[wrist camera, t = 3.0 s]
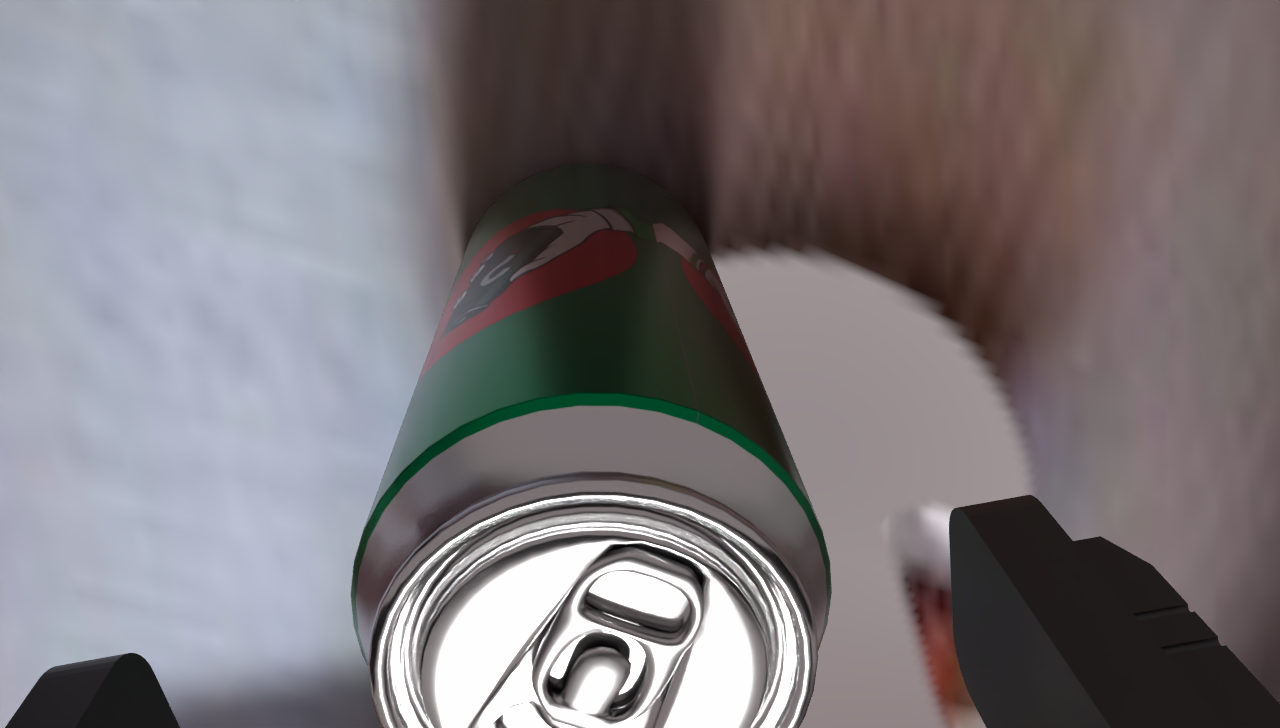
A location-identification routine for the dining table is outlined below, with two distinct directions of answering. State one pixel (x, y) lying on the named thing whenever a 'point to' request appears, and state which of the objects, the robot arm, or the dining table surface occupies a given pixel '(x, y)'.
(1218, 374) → the dining table surface
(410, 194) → the dining table surface
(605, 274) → the soda can
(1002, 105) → the dining table surface
